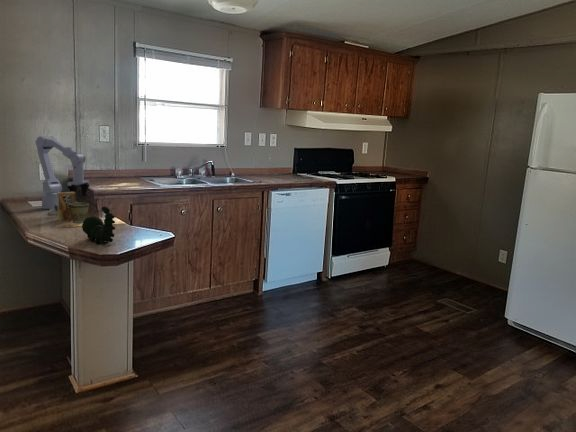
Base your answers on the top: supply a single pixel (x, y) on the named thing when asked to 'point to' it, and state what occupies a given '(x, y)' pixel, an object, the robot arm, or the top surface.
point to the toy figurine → (99, 227)
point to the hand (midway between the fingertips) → (79, 196)
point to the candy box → (65, 204)
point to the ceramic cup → (79, 211)
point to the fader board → (53, 212)
